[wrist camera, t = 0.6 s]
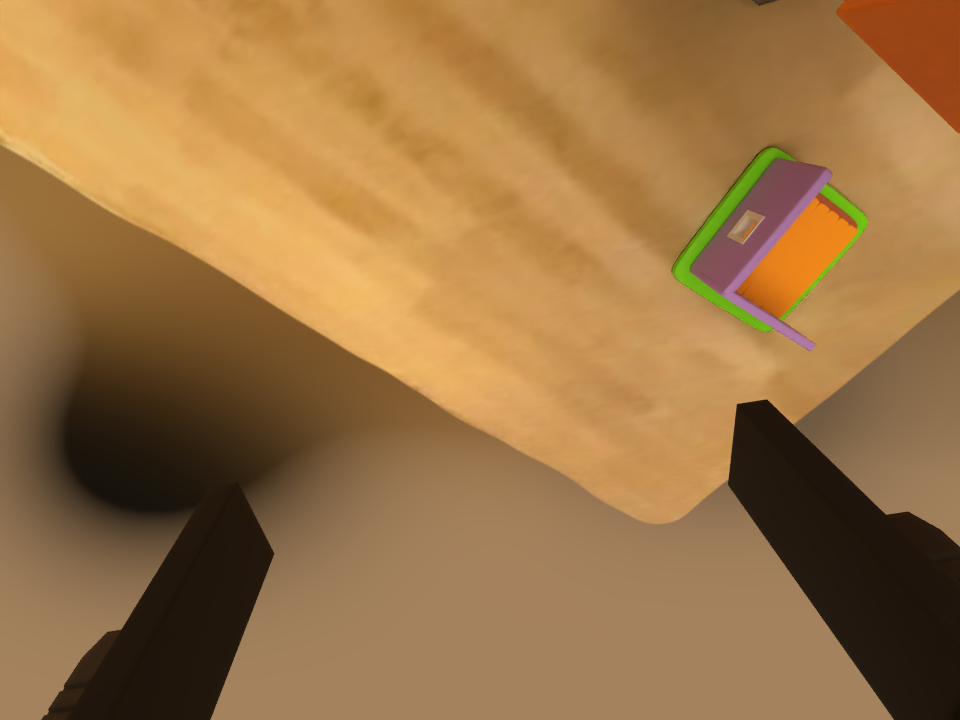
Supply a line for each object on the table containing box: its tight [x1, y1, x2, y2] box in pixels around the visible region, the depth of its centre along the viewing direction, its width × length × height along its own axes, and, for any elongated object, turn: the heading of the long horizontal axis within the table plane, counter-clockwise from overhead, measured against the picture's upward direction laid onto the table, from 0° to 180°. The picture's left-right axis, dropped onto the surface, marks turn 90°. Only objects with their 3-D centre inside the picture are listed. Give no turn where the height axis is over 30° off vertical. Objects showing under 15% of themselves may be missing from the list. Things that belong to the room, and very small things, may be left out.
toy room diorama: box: [672, 147, 868, 351], centre depth 39 cm, size 12×12×7 cm
